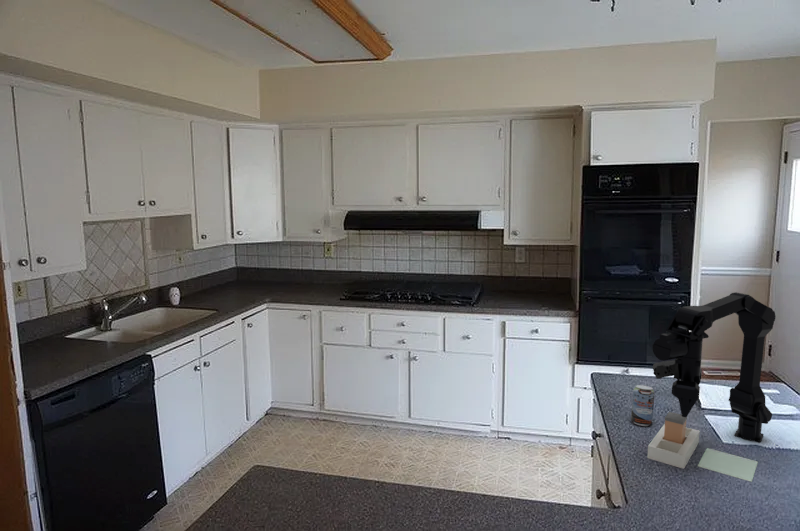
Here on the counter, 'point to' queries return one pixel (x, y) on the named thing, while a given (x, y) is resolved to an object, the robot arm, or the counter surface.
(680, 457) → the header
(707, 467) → the mat
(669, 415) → the tan rectangular block
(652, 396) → the beverage can
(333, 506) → the counter surface
